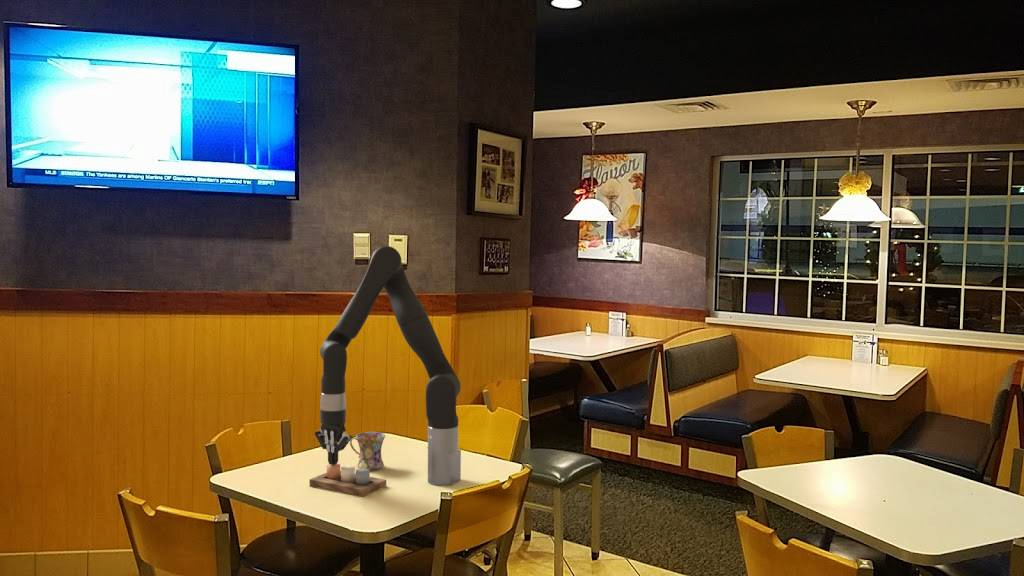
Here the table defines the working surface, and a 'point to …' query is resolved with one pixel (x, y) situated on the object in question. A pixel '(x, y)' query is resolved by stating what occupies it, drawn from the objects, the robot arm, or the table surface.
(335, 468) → the salmon pink cube
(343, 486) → the button board
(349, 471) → the button mid
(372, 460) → the mug
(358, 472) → the light blue cube
